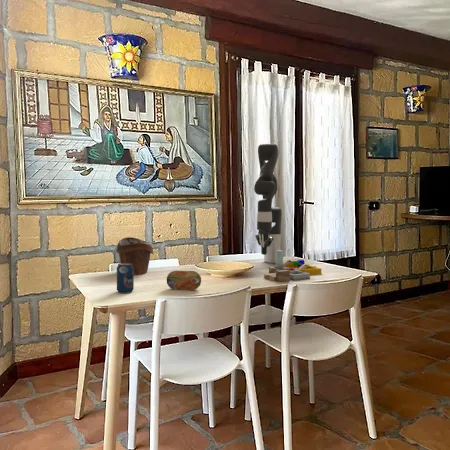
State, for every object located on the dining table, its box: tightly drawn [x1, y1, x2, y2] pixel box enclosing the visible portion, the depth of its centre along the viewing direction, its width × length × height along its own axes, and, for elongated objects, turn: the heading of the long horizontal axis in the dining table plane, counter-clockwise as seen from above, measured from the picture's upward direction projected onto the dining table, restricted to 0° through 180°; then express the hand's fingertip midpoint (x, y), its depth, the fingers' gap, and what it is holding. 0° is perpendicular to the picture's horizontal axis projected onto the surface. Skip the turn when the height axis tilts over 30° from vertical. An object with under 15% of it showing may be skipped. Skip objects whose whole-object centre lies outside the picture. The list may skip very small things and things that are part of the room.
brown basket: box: [116, 236, 154, 276], centre depth 236 cm, size 18×20×18 cm
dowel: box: [275, 249, 284, 269], centre depth 239 cm, size 4×4×12 cm
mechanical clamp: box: [274, 259, 322, 276], centre depth 247 cm, size 18×6×30 cm
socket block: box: [268, 266, 290, 274], centre depth 239 cm, size 8×8×3 cm
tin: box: [166, 270, 202, 291], centre depth 198 cm, size 15×3×8 cm, turn 81°
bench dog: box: [275, 270, 291, 283], centre depth 219 cm, size 3×6×5 cm, turn 121°
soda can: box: [116, 262, 135, 294], centre depth 191 cm, size 7×7×12 cm
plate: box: [263, 273, 277, 282], centre depth 224 cm, size 8×8×2 cm
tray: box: [290, 270, 311, 281], centre depth 228 cm, size 10×10×2 cm
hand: (264, 254), depth 232 cm, fingers closed
